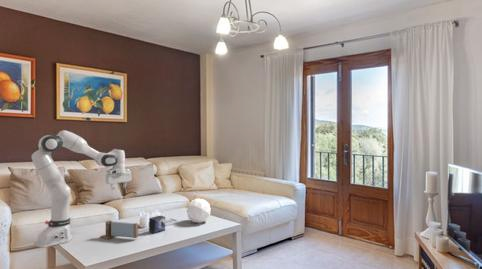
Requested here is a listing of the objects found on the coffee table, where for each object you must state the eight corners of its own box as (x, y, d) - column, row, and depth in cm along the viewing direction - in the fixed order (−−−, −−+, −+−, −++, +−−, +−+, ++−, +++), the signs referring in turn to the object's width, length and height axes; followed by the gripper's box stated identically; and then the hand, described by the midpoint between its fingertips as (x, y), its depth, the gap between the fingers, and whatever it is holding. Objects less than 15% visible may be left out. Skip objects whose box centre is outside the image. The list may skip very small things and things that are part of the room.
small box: (154, 234, 239) (154, 219, 239) (148, 232, 243) (148, 218, 243) (165, 230, 248) (165, 216, 248) (160, 228, 252) (160, 215, 252)
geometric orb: (203, 231, 267) (207, 215, 256) (180, 221, 270) (184, 205, 258) (212, 215, 282) (216, 199, 271) (191, 205, 285) (194, 189, 273)
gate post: (107, 239, 227) (107, 223, 227) (100, 237, 231) (100, 221, 231) (117, 236, 234) (117, 221, 233) (110, 234, 238) (110, 219, 238)
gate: (110, 235, 231) (110, 222, 230) (113, 234, 233) (113, 221, 233) (136, 238, 226) (136, 224, 226) (137, 237, 228) (137, 223, 228)
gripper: (128, 168, 260) (128, 186, 260) (104, 171, 244) (104, 190, 244) (133, 169, 256) (133, 187, 257) (108, 171, 240) (108, 191, 240)
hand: (118, 188), depth 250 cm, fingers open, 8 cm apart
